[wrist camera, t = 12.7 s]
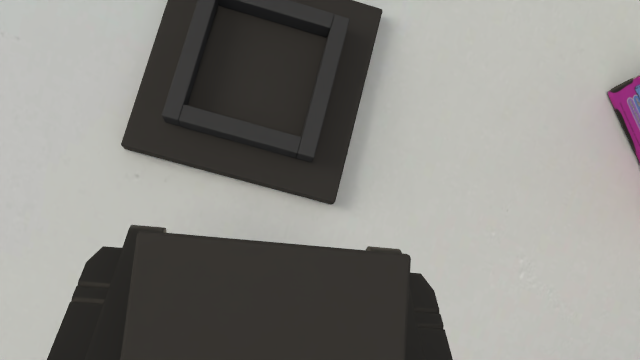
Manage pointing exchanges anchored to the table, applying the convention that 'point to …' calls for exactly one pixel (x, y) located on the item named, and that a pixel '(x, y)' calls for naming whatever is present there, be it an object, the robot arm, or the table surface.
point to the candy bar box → (628, 109)
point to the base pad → (256, 90)
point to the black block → (263, 301)
